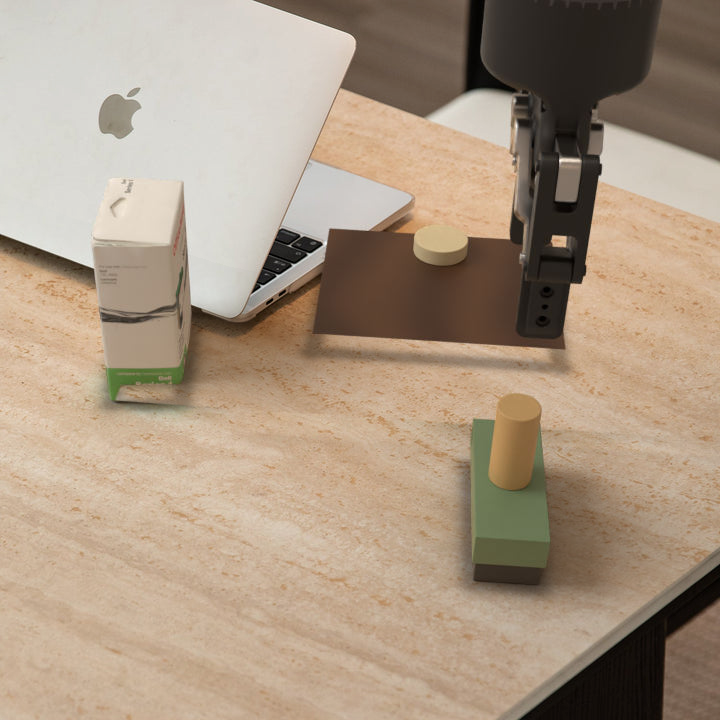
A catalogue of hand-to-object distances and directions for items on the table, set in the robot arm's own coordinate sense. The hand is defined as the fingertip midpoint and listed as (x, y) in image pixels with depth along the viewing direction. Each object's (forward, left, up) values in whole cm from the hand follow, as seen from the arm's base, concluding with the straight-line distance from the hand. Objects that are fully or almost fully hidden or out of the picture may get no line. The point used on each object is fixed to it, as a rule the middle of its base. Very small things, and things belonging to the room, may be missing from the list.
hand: (533, 285), depth 62 cm
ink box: (+23, -13, -16) cm, 31 cm away
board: (+4, -22, -16) cm, 28 cm away
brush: (0, 0, -16) cm, 16 cm away
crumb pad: (+4, -27, -15) cm, 31 cm away
